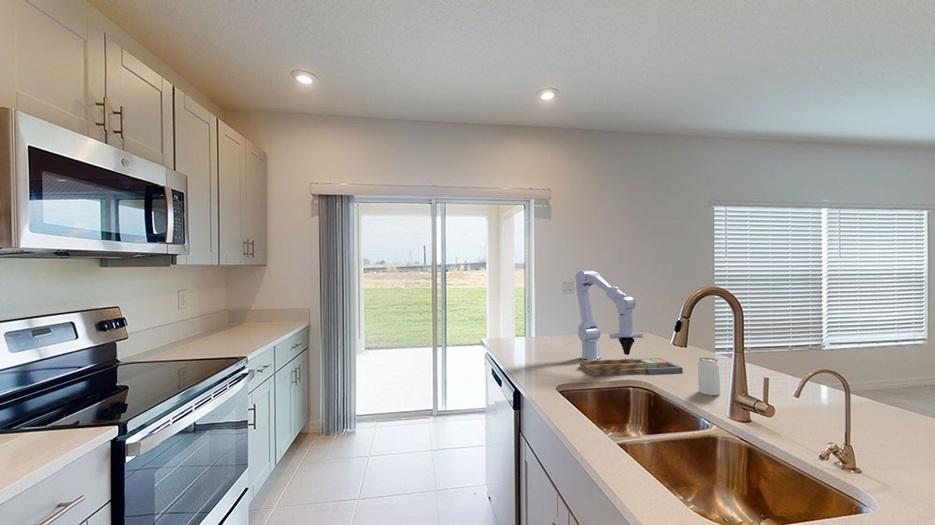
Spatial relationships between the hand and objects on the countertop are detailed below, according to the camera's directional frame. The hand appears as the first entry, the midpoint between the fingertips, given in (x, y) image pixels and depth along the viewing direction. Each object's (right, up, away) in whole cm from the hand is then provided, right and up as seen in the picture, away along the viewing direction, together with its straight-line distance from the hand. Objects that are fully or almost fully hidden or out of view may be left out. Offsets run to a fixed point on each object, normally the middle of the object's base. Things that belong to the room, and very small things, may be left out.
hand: (626, 354), depth 162 cm
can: (+16, -6, -32) cm, 36 cm away
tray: (+13, -6, +1) cm, 14 cm away
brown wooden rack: (-7, -7, -1) cm, 10 cm away
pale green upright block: (+10, -6, 0) cm, 12 cm away
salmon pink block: (+15, -6, +1) cm, 16 cm away
